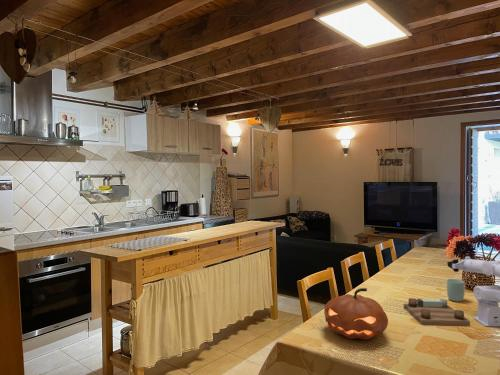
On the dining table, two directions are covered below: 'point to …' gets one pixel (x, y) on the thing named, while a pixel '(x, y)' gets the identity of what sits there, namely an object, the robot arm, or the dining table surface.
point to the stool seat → (436, 315)
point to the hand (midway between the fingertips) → (455, 263)
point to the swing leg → (432, 303)
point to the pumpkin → (355, 316)
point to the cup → (455, 289)
